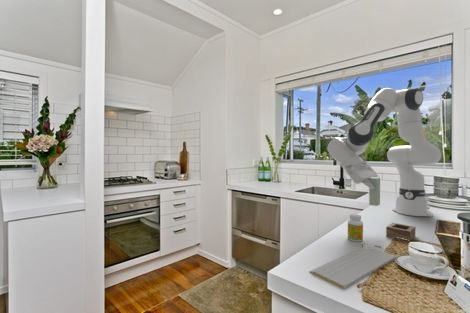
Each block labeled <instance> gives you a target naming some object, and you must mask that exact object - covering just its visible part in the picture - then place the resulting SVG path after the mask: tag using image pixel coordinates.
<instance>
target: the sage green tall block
mask: <svg viewBox="0 0 470 313" xmlns="http://www.w3.org/2000/svg"><path fill="white" fill-rule="evenodd" d="M369 182H370V183H371V184H373V185H374V186H375V187H376V188H375V189H374V190H371V189H370V188H369V187H368V189H369V190H368V192H369V193H368V195H369V196H368V198H369V199H368V201H369V202H368V203H369V204H368V205H369V206H375V207H378V206H380V205H381V177H377V178H376V177H371V178H370V181H369Z"/></svg>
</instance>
